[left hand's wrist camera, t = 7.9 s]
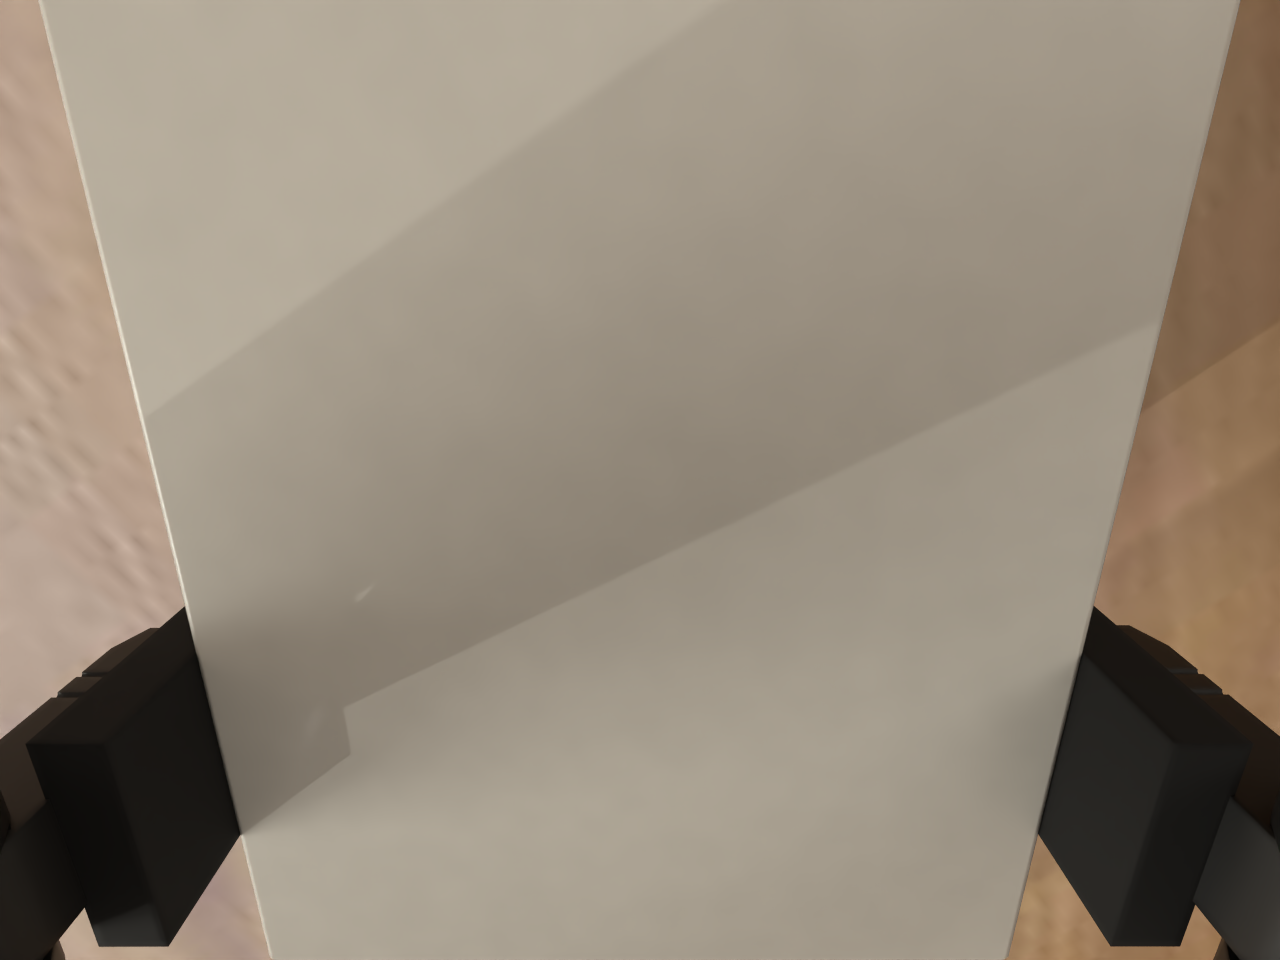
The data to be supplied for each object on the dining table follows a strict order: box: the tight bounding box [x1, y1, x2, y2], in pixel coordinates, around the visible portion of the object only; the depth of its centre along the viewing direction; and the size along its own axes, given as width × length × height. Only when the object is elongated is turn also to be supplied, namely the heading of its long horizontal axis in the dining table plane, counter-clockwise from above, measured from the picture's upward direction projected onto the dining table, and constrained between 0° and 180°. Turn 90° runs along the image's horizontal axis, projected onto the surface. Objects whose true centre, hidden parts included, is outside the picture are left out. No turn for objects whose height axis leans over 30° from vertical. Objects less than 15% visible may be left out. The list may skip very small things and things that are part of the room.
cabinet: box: [38, 0, 1241, 960], centre depth 11 cm, size 16×10×9 cm, turn 0°
